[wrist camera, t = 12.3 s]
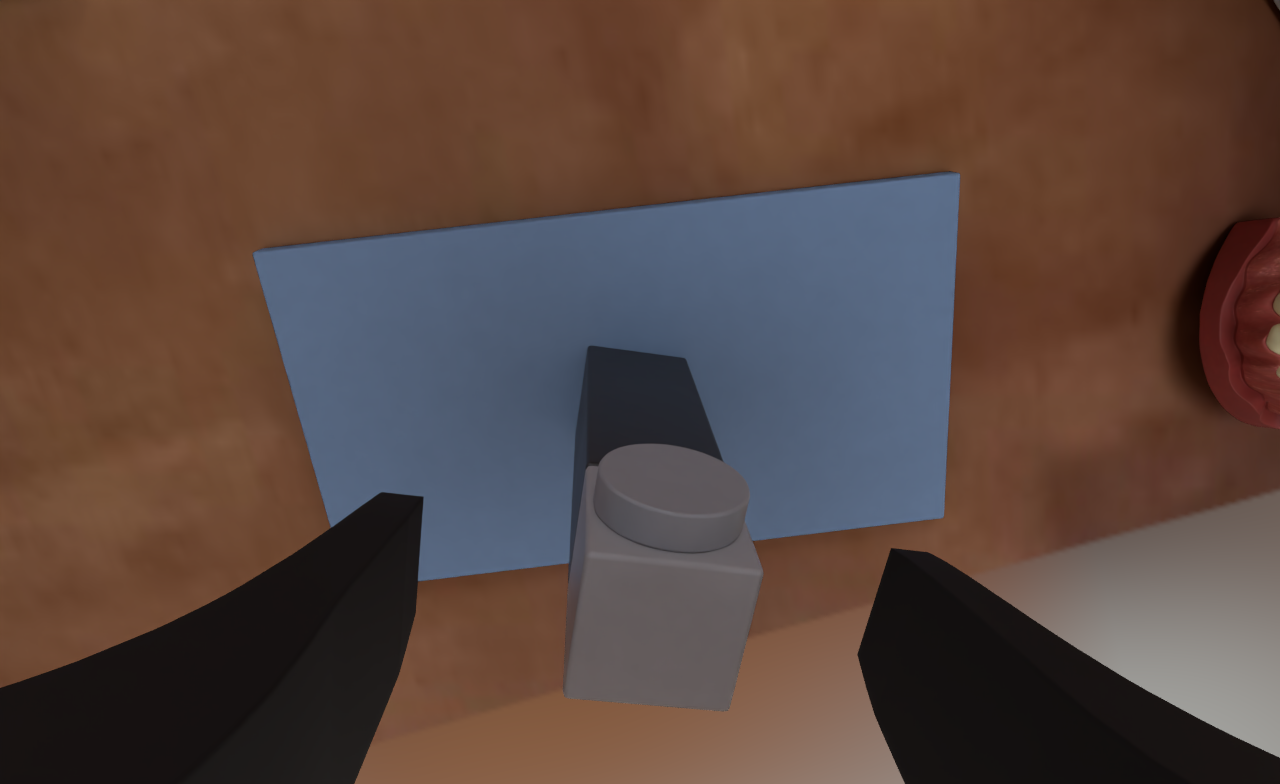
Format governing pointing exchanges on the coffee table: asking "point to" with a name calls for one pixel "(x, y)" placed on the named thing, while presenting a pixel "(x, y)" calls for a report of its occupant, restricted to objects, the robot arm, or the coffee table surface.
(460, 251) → the rubber mat
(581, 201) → the coffee table surface
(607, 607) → the grey toy brick
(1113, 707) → the robot arm
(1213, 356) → the dentures
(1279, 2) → the icon cube
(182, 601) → the coffee table surface
